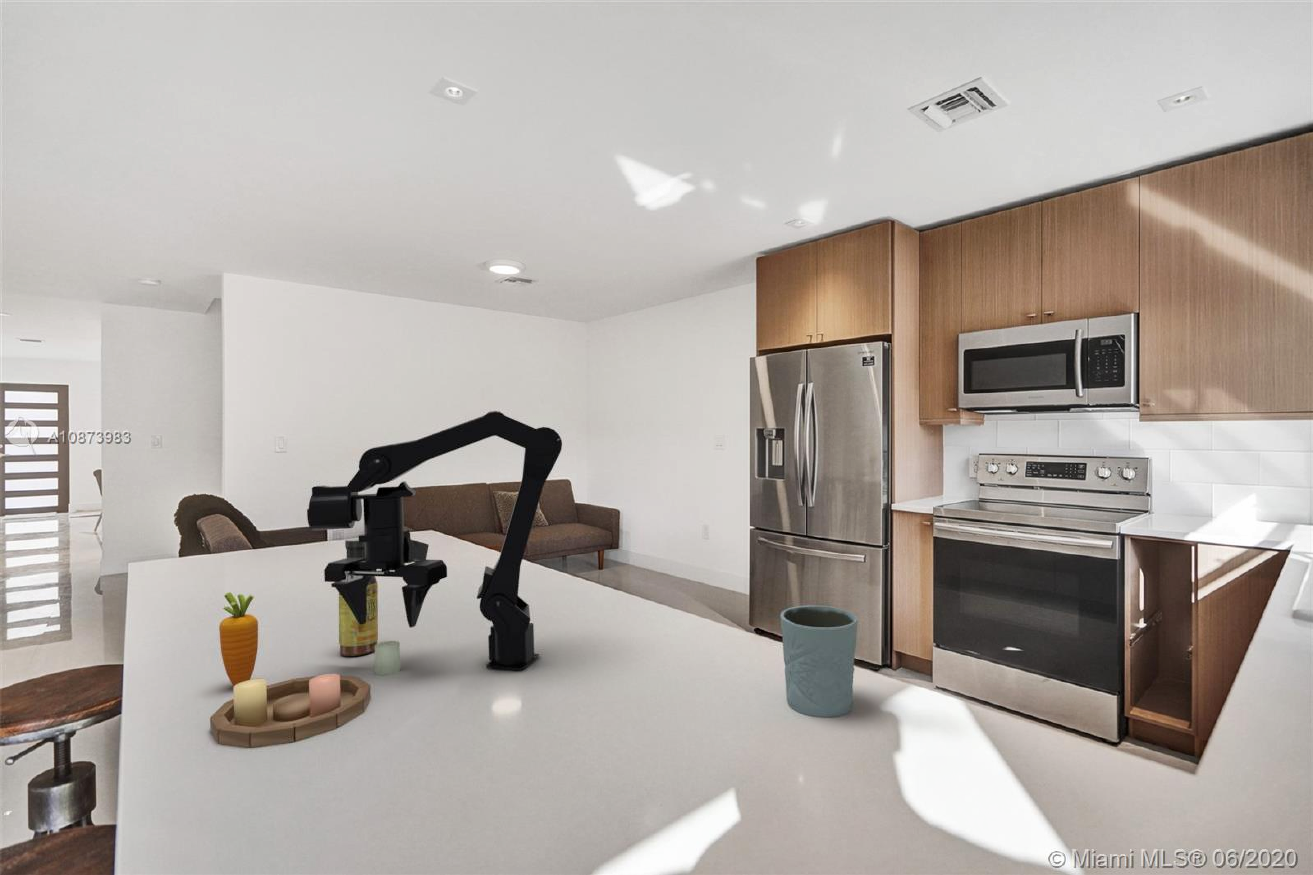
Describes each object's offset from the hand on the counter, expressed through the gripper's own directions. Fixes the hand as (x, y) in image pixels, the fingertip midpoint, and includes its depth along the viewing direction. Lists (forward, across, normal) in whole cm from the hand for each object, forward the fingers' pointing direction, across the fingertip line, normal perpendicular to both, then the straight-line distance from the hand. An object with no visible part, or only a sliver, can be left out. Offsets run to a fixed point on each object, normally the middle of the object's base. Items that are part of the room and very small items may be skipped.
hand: (387, 625), depth 100 cm
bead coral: (+7, -3, +16) cm, 18 cm away
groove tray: (+8, +2, +16) cm, 18 cm away
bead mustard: (+7, +6, +20) cm, 22 cm away
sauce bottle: (+8, +13, -9) cm, 18 cm away
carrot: (+8, +18, +10) cm, 22 cm away
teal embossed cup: (+8, -66, -3) cm, 66 cm away
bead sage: (+8, 0, 0) cm, 8 cm away
